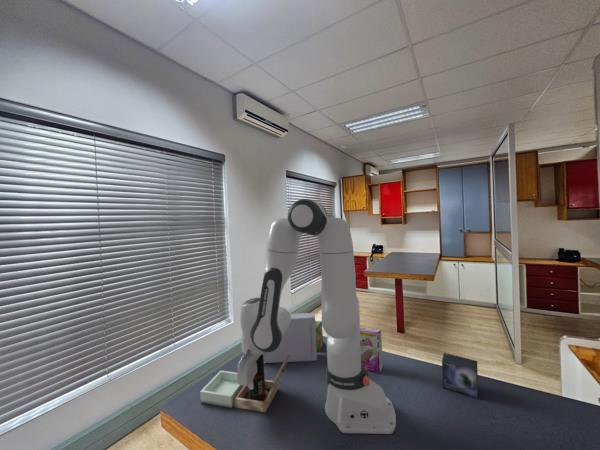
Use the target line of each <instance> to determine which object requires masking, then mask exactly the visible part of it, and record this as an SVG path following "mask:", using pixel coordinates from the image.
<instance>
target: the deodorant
mask: <svg viewBox="0 0 600 450" xmlns="http://www.w3.org/2000/svg"><path fill="white" fill-rule="evenodd" d="M256 362H257V373H256V375H255V376H254V378H253V382H255V387H254V388H253V389H249V387H248V390H249V391H248V399H251V400H257V401H263V402H264V401H265V399H266V389H265V380H266V379H265V378H266V377H265V364H264V360H263V354H262V355H260V357H259V358H258V359H257V361H256Z"/></svg>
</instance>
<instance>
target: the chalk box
mask: <svg viewBox="0 0 600 450" xmlns="http://www.w3.org/2000/svg"><path fill="white" fill-rule="evenodd" d="M315 330H316V350H317V353H318V352H320V351H321V349H322V348H323V347H322V346H323V344H324V338H323V337H324V336H323V333H324V332H323V326H322V320H321V321H318V320H315Z"/></svg>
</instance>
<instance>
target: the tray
mask: <svg viewBox="0 0 600 450" xmlns="http://www.w3.org/2000/svg"><path fill="white" fill-rule="evenodd" d="M242 388H243V385H239V384H238V382H237V372H235V371H226V370H221V369H219V371H218V372H217V373H216V374H215V376H214V377H213V378H211V379H210V380H209V382H208V383H207V384H206V385H205V386H204V387H203V388H202V389H201V390H200V391H199V395H200V403H202V404H206V405H207V404H208V405H212V406H213V405H214V406H218V407H225V408H229V409H230V408H231V409H232V408H233V407H234V406H235V402H234V398H235V397H236V396H237V394H238V393H239V392H240V390H241V389H242Z"/></svg>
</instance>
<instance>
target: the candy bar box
mask: <svg viewBox="0 0 600 450" xmlns="http://www.w3.org/2000/svg"><path fill="white" fill-rule="evenodd" d="M382 345H383V341H382V330H381V329H377V328H371V327H367V326H364V325H360V350H361V366H362V367H364V368H366V367H367V371H368V372H373V373H377V374H381V373H382V370H383V368H384V365H383V347H382Z"/></svg>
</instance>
